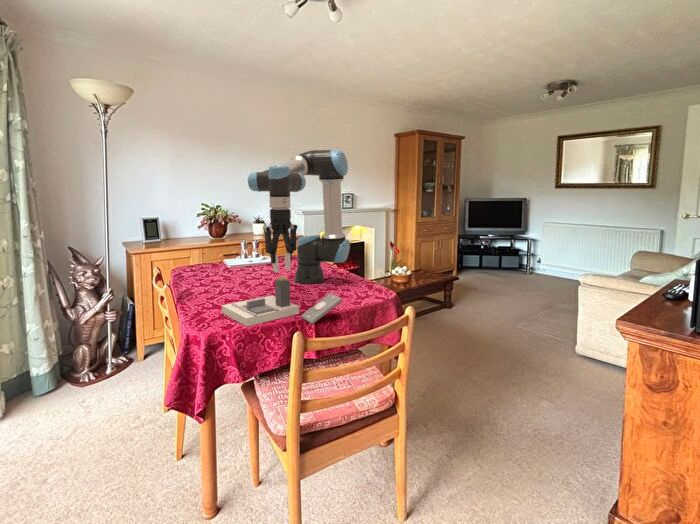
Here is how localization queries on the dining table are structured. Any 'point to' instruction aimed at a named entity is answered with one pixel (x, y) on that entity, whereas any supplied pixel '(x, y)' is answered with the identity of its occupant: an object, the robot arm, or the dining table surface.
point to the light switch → (321, 308)
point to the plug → (282, 291)
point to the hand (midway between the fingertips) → (281, 270)
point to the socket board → (249, 318)
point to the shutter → (258, 306)
